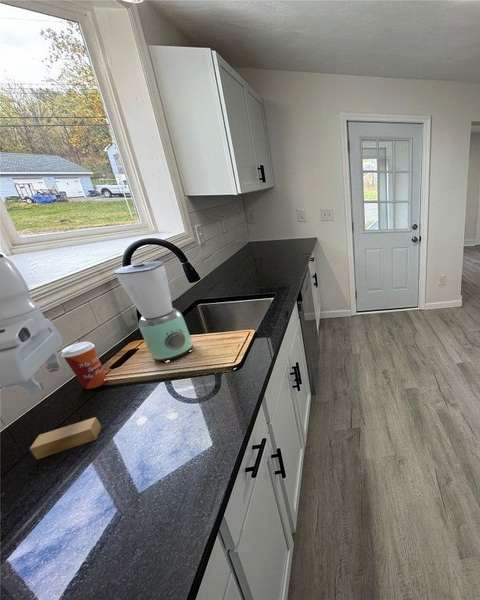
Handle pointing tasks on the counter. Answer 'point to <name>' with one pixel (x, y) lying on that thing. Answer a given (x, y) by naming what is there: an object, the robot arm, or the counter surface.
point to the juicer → (156, 310)
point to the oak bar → (65, 438)
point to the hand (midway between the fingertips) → (47, 380)
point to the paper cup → (85, 364)
